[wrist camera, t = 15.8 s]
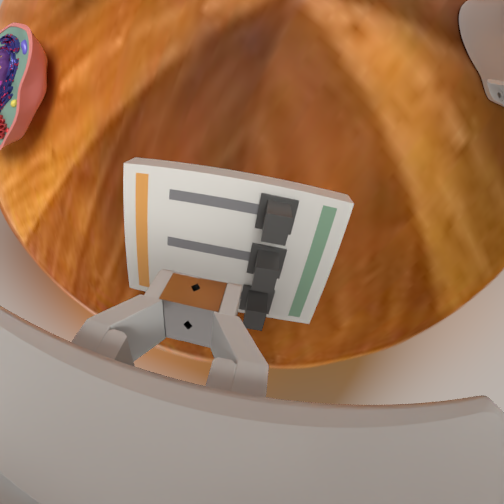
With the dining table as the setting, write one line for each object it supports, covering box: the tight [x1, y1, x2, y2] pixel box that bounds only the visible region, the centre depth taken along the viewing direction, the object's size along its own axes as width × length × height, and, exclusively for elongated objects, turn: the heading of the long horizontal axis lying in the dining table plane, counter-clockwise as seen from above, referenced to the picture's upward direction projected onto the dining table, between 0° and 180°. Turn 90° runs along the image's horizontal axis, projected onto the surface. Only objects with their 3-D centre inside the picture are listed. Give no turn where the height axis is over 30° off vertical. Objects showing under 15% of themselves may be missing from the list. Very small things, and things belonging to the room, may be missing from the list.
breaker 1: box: [239, 284, 275, 331], centre depth 34 cm, size 4×4×4 cm
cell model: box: [0, 23, 48, 150], centre depth 20 cm, size 17×20×11 cm
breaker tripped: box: [247, 243, 287, 294], centre depth 31 cm, size 4×4×4 cm
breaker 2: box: [255, 193, 299, 246], centre depth 28 cm, size 4×4×4 cm
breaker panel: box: [123, 157, 354, 324], centre depth 34 cm, size 26×18×3 cm
